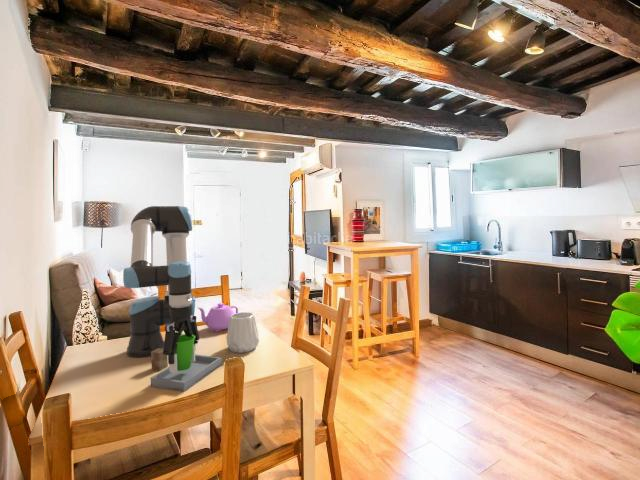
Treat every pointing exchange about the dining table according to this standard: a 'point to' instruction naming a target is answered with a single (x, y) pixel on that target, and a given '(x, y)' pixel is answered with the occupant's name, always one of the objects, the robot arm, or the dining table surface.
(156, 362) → the walnut block
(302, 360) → the dining table surface
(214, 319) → the teapot
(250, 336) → the vase
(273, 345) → the dining table surface
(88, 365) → the dining table surface
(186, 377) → the tray
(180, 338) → the cup
